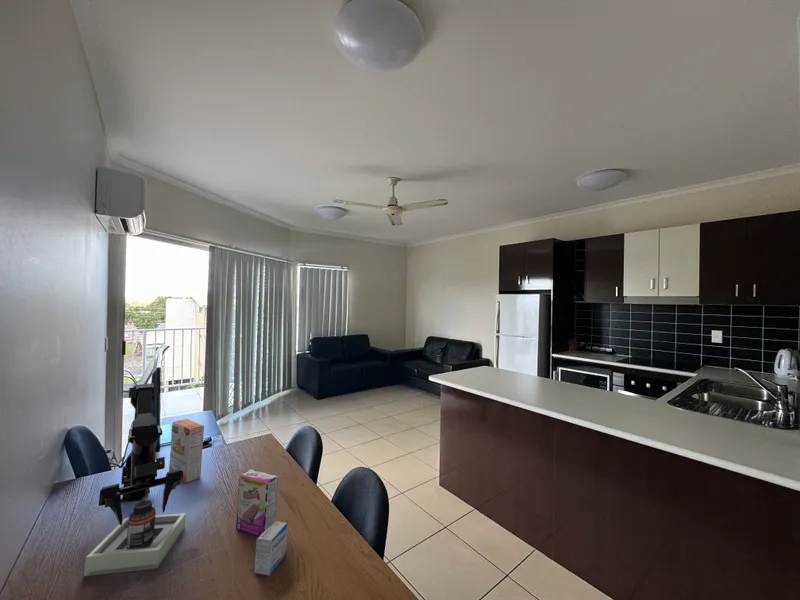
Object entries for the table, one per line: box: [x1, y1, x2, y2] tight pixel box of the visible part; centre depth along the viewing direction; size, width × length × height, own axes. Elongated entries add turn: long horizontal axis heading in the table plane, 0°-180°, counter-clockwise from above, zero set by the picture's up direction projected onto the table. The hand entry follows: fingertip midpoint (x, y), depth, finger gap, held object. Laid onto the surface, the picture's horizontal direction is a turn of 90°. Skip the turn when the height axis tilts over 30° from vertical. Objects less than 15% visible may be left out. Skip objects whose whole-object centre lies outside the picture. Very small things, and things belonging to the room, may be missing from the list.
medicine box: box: [254, 520, 288, 577], centre depth 86 cm, size 8×4×9 cm, turn 168°
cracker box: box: [168, 418, 205, 484], centre depth 130 cm, size 14×6×21 cm, turn 58°
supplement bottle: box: [127, 499, 157, 549], centre depth 89 cm, size 6×6×11 cm
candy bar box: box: [235, 468, 279, 537], centre depth 99 cm, size 11×5×16 cm, turn 71°
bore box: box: [83, 512, 187, 577], centre depth 89 cm, size 16×16×4 cm
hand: (143, 517), depth 88 cm, fingers open, 9 cm apart
